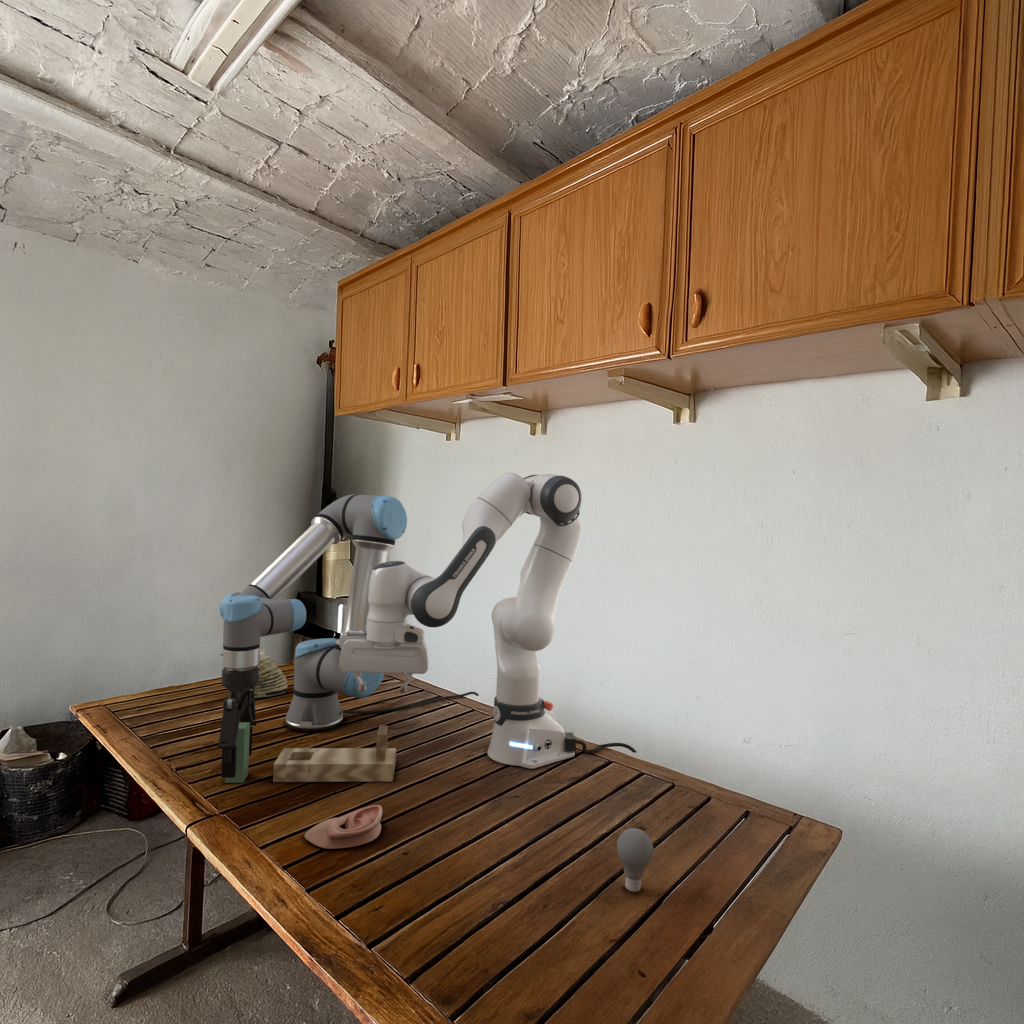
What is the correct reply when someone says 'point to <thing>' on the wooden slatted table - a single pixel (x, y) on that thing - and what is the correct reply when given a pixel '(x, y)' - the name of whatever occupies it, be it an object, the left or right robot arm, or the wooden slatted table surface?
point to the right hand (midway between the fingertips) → (382, 691)
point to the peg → (241, 753)
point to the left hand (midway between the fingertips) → (237, 765)
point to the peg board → (337, 763)
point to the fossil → (269, 678)
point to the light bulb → (634, 856)
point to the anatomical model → (347, 829)
